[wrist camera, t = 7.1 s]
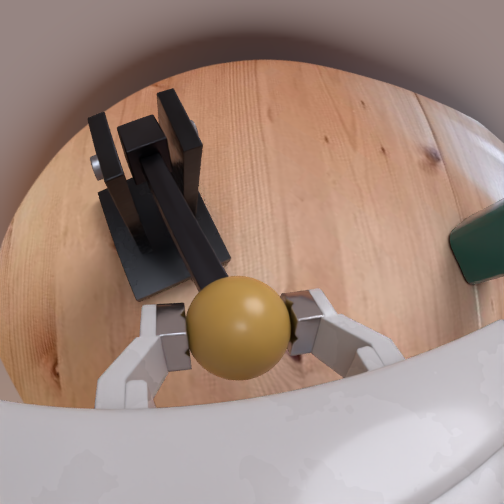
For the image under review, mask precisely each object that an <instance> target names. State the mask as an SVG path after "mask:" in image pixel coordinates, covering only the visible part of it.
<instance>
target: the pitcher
mask: <svg viewBox="0 0 504 504" xmlns="http://www.w3.org/2000/svg"><path fill="white" fill-rule="evenodd" d="M450 245H451V248H452V250H453V252H454V254H455V257H456V259H457V261H458V263H459V265H460V268H461V270H462V272H463V275H464V277H465V279H466V280H467V282H468V283H470V284H472V285H475V284H478V283H482V282H486V281H489V280H493V279H496V278H499V277H503V276H504V198H503V199H501V200H499V201H498V202H496V203H494V204H492V205H490V206H488V207H486V208H484V209H482V210H481V211H479V212H477V213H475V214H473V215H471V216H469V217H467V218H466V219H465V220H463V221H462V222H461V223H460V224H459V225H458V226H457V227H455V228H454V229H453V230H452V231H451V234H450Z"/></svg>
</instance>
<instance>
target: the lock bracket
mask: <svg viewBox="0 0 504 504" xmlns="http://www.w3.org/2000/svg"><path fill="white" fill-rule="evenodd" d="M157 105H158V119H159V125H160V127H161V128H162V130H163V132H164V133H165V135H166V137H167V140H168V146H169V151H170V157H171V162H172V168H173V171H172V172H170V173H171V175H172V177H173V179H174V180H175V182H176V184H177V186H178V188H179V190H180V191H181V193H182V195H183V197H184V199H185V201H186V202H187V204H188V206H189V208H190V210H191V211H192V213H193V215H194V217H195V219H196V220H197V222H198V224H199V226H200V227H201V229H202V231H203V233H204V235H205V236H206V238H207V240H208V242H209V243H210V245H211V247H212V249H213V250H214V252H215V254H216V256H217V257H218V259H219V261H220V263H221V264H222V265H223V264H225V263H227V262H229V261H230V259H231V257H230V255H229V253H228V251H227V249H226V247H225V245H224V243H223V241H222V239H221V237H220V235H219V233H218V230H217V228H216V226H215V224H214V222H213V220H212V218H211V216H210V214H209V212H208V210H207V208H206V206H205V204H204V201H203V199H202V197H201V195H200V193H199V191H198V186H199V176H200V166H201V157H202V148H203V144H202V142H201V140H200V138H199V135H198V131H197V128H196V125H195V124H194V122H193V121H192V120H190V119H189V117H188V115H187V113H186V111H185V109H184V107H183V105H182V104H181V102H180V100H179V98H178V96H177V94H176V92H175V90H174V89H173V88H172V89H169V90H165V91H162V92H159V93H157ZM88 123H89V127H90V131H91V135H92V139H93V143H94V147H95V151H96V155H94V156H92V157H90V161H91V165H92V168H93V171H94V174H95V176H96V178H97V180H101V179H104V182H105V184H106V186H107V189H105V190H102V191H100V192H98V195H99V199H100V202H101V205H102V208H103V212H104V215H105V218H106V221H107V224H108V227H109V230H110V233H111V236H112V238H113V241H114V244H115V247H116V250H117V252H118V255H119V258H120V260H121V263H122V266H123V268H124V271H125V273H126V276H127V278H128V281H129V283H130V286H131V288H132V291H133V293H134V296H135V298H136V300H137V301H138V302H141V301H143V300H145V299H147V298H150V297H152V296H154V295H156V294H158V293H161V292H163V291H165V290H167V289H170V288H172V287H174V286H176V285H178V284H181V283H183V282H185V281H187V280H190V279H192V277H191V275H190V273H189V271H188V269H187V267H186V265H185V263H184V261H183V259H182V257H181V255H180V253H179V251H178V249H177V247H176V245H175V243H174V241H173V239H172V236H171V234H170V232H169V230H168V228H167V226H166V224H165V221H164V219H163V217H162V215H161V213H160V211H159V208H158V206H157V204H156V202H155V200H154V197H153V195H152V193H151V191H150V188H149V186H148V184H147V182H144V183H142V184H139V185H136V184H135V182H134V179H133V178H131V179H128V180H126V178H125V175H124V172H123V169H122V166H121V163H120V160H119V157H118V154H117V151H116V148H115V145H114V142H113V138H112V135H111V132H110V129H109V125H108V122H107V119H106V115H105V112H101V113H99V114H96V115H94V116H92V117H89V118H88Z"/></svg>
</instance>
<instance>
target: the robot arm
mask: <svg viewBox="0 0 504 504" xmlns="http://www.w3.org/2000/svg"><path fill="white" fill-rule="evenodd" d="M280 298H281V299H282V300H283V302H284V304H285V306H286V308H287V310H288V313H289V317H290V323H291V335H290V340H289V344H288V347H287V349H288V352H289V354H290V356H294V355H300V354H306V353H312V354H313V355H314V356H315V357H317V358H318V359H319V360H321V361H322V362H323V363H325V364H326V365H327V366H329V367H330V368H331V369H333V370H334V371H335V372H337V373H338V374H339V375H341V376H342V377H343V379H339V380H336V381H332V382H328V383H324V384H320V385H315V386H311V387H307V388H302V389H297V390H293V391H288V392H283V393H277V394H272V395H267V396H261V397H255V398H249V399H242V400H235V401H228V402H220V403H211V404H202V405H192V406H180V407H165V408H156V406H155V404H154V401H153V398H154V397H155V395H156V393H157V391H158V390H159V388H160V386H161V385H162V383H163V381H164V380H165V378H166V376H167V375H168V372H170V371H180V370H189V369H192V368H191V359H190V350H189V345H188V335H187V327H186V315H185V306H184V303H170V304H157V305H156V304H153V305H143V306H142V310H141V323H140V337H136V338H135V339H134V340H133V341H132V342H131V343H130V344H129V345H128V346H127V348H126V349H125V350H124V351H123V352H122V353H121V354H120V355H119V356H118V357H117V359H116V360H115V361H114V362H113V363H112V364H111V365H110V366H109V367H108V369H107V370H106V371H105V372H104V373H103V374H102V375H101V376H100V378H99V379H98V381H97V389H96V398H95V408H94V409H89V408H68V407H55V406H43V405H34V404H26V403H18V402H11V401H5V400H0V504H504V320H497V321H495V322H493V323H491V324H489V325H487V326H485V327H483V328H481V329H478V330H476V331H474V332H472V333H470V334H468V335H465V336H463V337H461V338H459V339H456V340H454V341H452V342H449V343H447V344H444V345H442V346H439V347H437V348H434V349H432V350H429V351H427V352H424V353H421V354H419V355H416V356H413V357H411V358H408V359H405V358H404V357H403V355H402V354H401V352H400V351H399V350H398V348H397V347H396V346H395V344H394V343H393V341H392V340H391V339H390V338H388V337H386V336H384V335H382V334H380V333H378V332H376V331H374V330H372V329H370V328H368V327H366V326H364V325H362V324H360V323H358V322H356V321H354V320H352V319H350V318H348V317H346V316H344V315H343V314H337V312H336V311H335V309H334V308H333V306H332V305H331V303H330V302H329V300H328V299H327V298H326V296H325V295H324V293H323V292H322V290H321V289H319V288H316V289H310V290H305V291H297V292H289V293H282V294H281V296H280Z"/></svg>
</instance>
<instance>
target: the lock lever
mask: <svg viewBox="0 0 504 504" xmlns="http://www.w3.org/2000/svg"><path fill="white" fill-rule="evenodd" d="M117 131H118V134H119V138H120V141H121V145H122V148H123V151H124V155H125V158H126V161H127V163H128V166H129V169H130V171H131V174H132V177H133V179H134V182H135V184H136V185H139V184H142V183H144V182H147V184H148V186H149V188H150V191H151V193H152V195H153V197H154V200H155V202H156V204H157V206H158V208H159V211H160V213H161V215H162V217H163V219H164V221H165V224H166V226H167V228H168V230H169V232H170V234H171V236H172V239H173V241H174V243H175V245H176V247H177V249H178V251H179V253H180V255H181V257H182V259H183V261H184V263H185V265H186V267H187V269H188V271H189V273H190V275H191V277H192V279H193V281H194V283H195V285H196V287H197V289H198V291H199V293H198V294H197V295H196V297H195V298H194V300H193V301H192V303H191V305H190V307H189V309H188V312H187V315H186V327H187V335H188V345H189V349H190V352H191V353H192V355H193V357H194V358H195V359H196V361H197V362H198V363H199V364H200V365H201V366H202V367H203V368H204V369H206V370H207V371H209V372H210V373H212V374H214V375H216V376H218V377H221V378H224V379H228V380H248V379H252V378H256V377H258V376H261V375H263V374H265V373H266V372H268V371H269V370H270V369H272V368H273V367H274V366H275V365H276V364H277V363H278V362H279V361H280V360H281V358H282V357H283V355H284V353H285V351H286V349H287V347H288V344H289V340H290V335H291V323H290V317H289V313H288V310H287V308H286V306H285V304H284V302H283V300H282V299H281V298H280V296H279V295H278V294H277V293H276V292H275V291H274V290H273V289H272V288H271V287H270V286H268V285H267V284H265V283H263V282H261V281H259V280H257V279H254V278H250V277H245V276H231V277H229V276H228V275H227V273H226V271H225V269H224V268H223V266H222V264H221V263H220V261H219V259H218V257H217V256H216V254H215V252H214V250H213V249H212V247H211V245H210V243H209V242H208V240H207V238H206V236H205V235H204V233H203V231H202V229H201V227H200V226H199V224H198V222H197V220H196V219H195V217H194V215H193V213H192V211H191V210H190V208H189V206H188V204H187V202H186V201H185V199H184V197H183V195H182V193H181V191H180V190H179V188H178V186H177V184H176V182H175V180H174V179H173V177H172V175H171V173H170V172H172V171H173V168H172V162H171V157H170V151H169V146H168V140H167V137H166V135H165V133H164V132H163V130H162V128H161V127H160V125H159V123H158V122H157V120H156V119H155V117H154V115H149V116H146V117H143V118H140V119H137V120H135V121H132V122H129V123H126V124H124V125H121V126H118V127H117Z"/></svg>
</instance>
